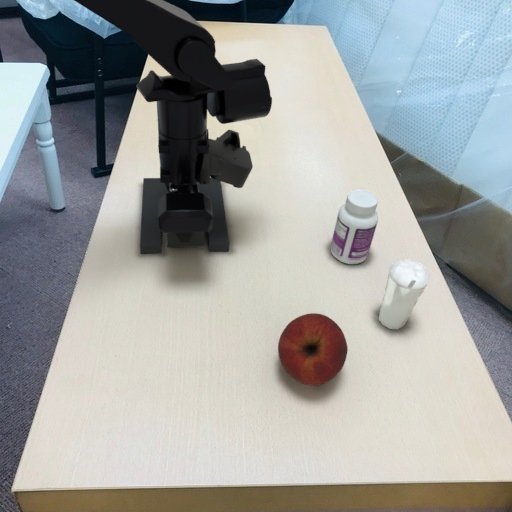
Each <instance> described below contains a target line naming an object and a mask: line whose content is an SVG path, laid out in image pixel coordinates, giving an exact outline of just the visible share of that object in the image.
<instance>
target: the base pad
mask: <svg viewBox="0 0 512 512" xmlns="http://www.w3.org/2000/svg"><path fill="white" fill-rule="evenodd" d="M198 189H199V192H202V193H204V194H205V195H206V196H208V197H209V198H210V199H211V205H212V214H213V225H212V229H211V230H210V231H208V232H206V233H207V243H208V245H207V246H208V252H209V253H215V252H218V253H219V252H229V251H230V238H229V231H228V224H227V216H226V211H225V202H224V196H223V195H224V194H223V189H222V182H221V181H217V180H215V179H213V178H211V177H210V184H200V183H199V182H198ZM166 193H168V191H167V188H166V186H165V184H164V183H160V177H143V180H142V199H141V217H140V218H141V219H140V220H141V221H140V238H139V239H140V240H139V249H140V254H141V255H151V254H153V255H155V254H162V231H160V230H159V221H158V200H159V199H160V198H161V197H162V196H164V195H165V194H166Z"/></svg>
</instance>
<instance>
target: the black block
mask: <svg viewBox="0 0 512 512" xmlns="http://www.w3.org/2000/svg"><path fill="white" fill-rule="evenodd" d="M166 247H167V248H187V247H189V248H190V247H205V232H193V233H192V236H191V239H190V242H189V243H181V242H180V240H179V239H178V237H177V236H176V234H175V233H166Z"/></svg>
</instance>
